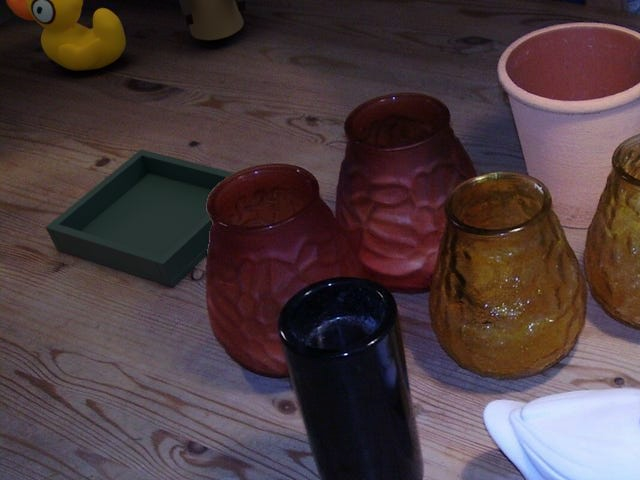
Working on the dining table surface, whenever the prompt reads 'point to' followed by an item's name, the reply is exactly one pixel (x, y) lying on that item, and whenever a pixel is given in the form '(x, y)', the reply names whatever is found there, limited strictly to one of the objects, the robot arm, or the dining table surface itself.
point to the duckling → (74, 33)
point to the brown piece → (214, 18)
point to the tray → (143, 218)
